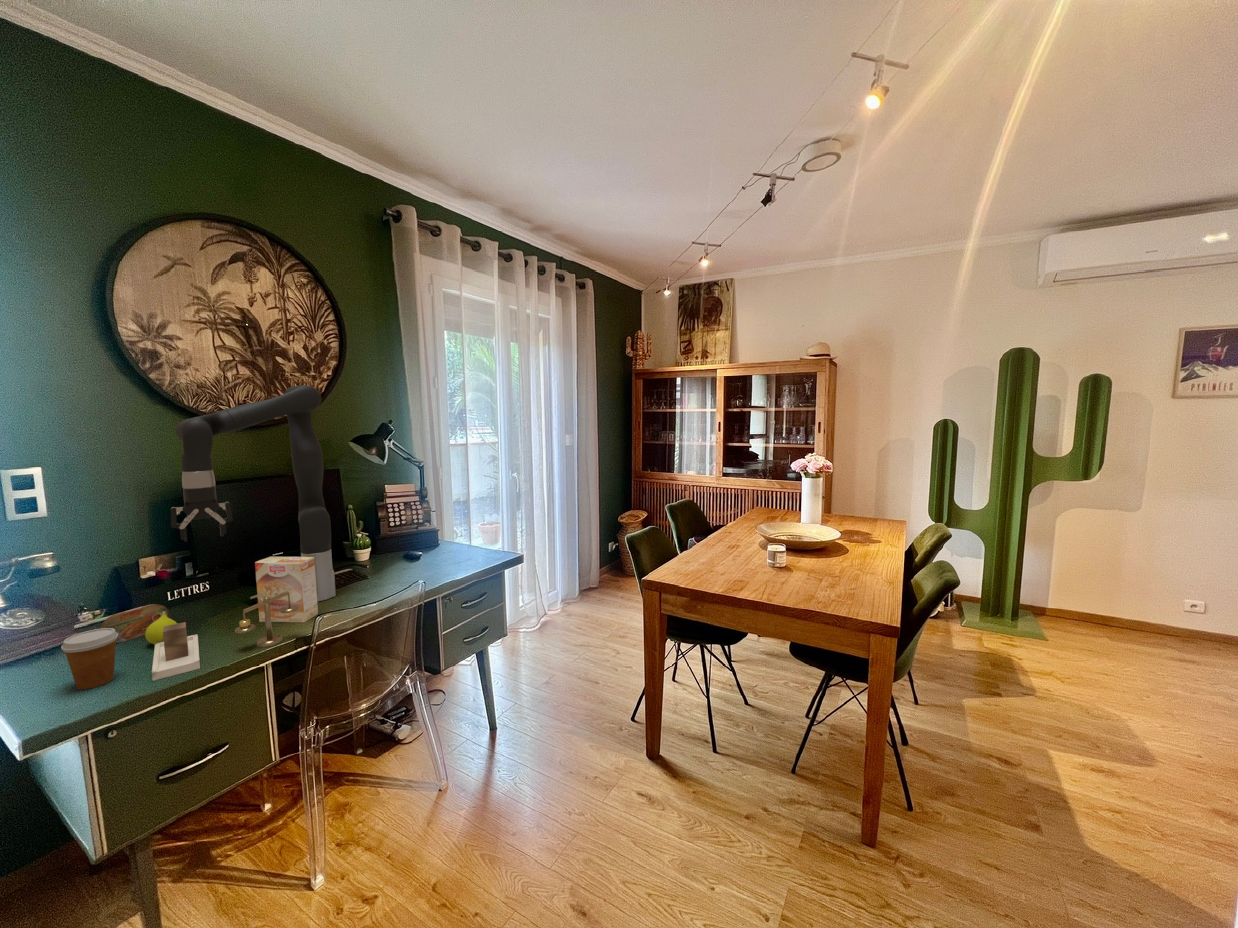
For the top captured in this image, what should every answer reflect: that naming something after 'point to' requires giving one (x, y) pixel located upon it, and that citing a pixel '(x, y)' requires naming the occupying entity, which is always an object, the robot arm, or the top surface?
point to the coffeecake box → (287, 587)
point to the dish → (175, 660)
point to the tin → (134, 621)
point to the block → (175, 641)
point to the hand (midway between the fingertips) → (204, 538)
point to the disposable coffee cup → (91, 657)
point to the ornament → (158, 629)
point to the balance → (266, 621)
